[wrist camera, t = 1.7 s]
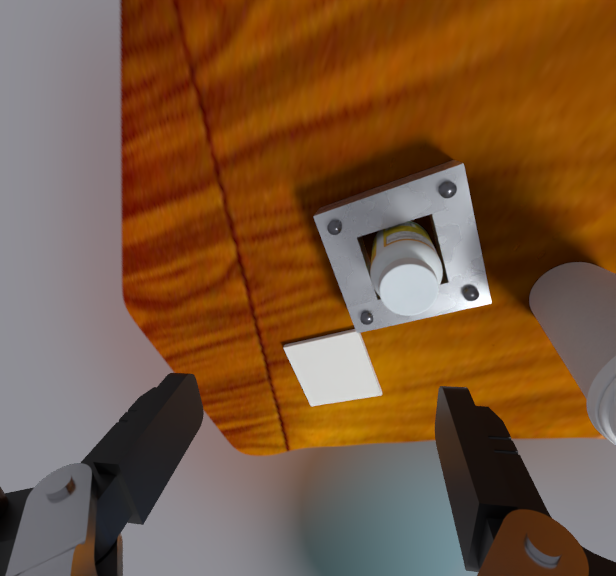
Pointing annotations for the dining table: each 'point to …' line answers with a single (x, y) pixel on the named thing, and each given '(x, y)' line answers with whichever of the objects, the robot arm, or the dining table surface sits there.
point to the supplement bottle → (405, 268)
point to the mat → (333, 368)
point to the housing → (395, 210)
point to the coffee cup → (583, 332)
